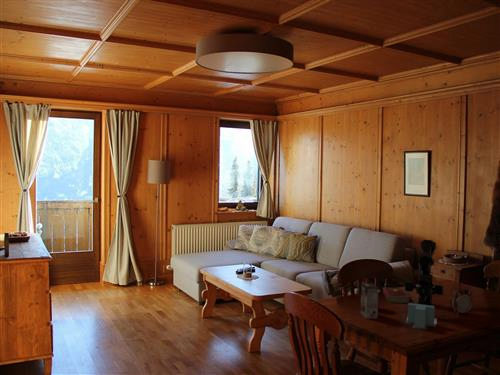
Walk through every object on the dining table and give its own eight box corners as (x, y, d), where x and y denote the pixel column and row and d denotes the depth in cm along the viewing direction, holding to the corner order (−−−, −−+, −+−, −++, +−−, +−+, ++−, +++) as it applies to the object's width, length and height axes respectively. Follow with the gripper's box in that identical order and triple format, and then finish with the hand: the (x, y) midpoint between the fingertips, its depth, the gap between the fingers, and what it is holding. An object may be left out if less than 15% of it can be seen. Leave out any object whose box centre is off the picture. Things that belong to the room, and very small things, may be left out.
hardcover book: (387, 302, 269) (388, 295, 268) (382, 293, 289) (383, 286, 289) (409, 304, 267) (409, 296, 267) (402, 294, 288) (403, 287, 287)
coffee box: (359, 313, 246) (360, 282, 246) (371, 313, 247) (372, 282, 246) (365, 318, 237) (366, 287, 237) (378, 318, 238) (378, 287, 237)
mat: (408, 315, 244) (408, 314, 244) (437, 318, 239) (437, 318, 239) (404, 326, 225) (404, 326, 225) (435, 331, 220) (435, 330, 220)
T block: (408, 320, 234) (408, 302, 234) (433, 324, 229) (434, 306, 229) (406, 326, 226) (406, 307, 225) (433, 329, 221) (433, 311, 220)
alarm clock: (455, 315, 245) (456, 287, 245) (449, 312, 250) (450, 284, 249) (473, 314, 248) (473, 286, 248) (466, 311, 253) (467, 283, 252)
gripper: (405, 266, 248) (402, 292, 238) (443, 269, 240) (442, 296, 231) (406, 277, 255) (404, 303, 246) (443, 281, 248) (442, 307, 238)
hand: (422, 302), depth 240 cm, fingers closed
